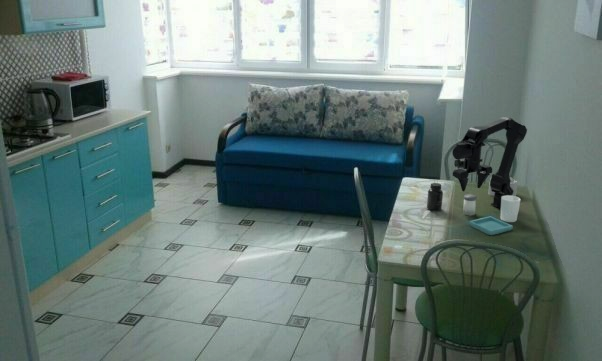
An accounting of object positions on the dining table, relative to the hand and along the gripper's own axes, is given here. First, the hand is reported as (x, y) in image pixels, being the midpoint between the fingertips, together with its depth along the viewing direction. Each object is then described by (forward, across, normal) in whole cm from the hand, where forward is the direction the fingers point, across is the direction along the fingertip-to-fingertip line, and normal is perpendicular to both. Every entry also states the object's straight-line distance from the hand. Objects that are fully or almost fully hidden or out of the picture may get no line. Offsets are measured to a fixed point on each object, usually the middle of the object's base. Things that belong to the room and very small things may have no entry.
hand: (471, 189), depth 249 cm
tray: (+11, +4, +17) cm, 21 cm away
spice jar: (+11, 0, 0) cm, 11 cm away
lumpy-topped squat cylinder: (+12, -34, -12) cm, 38 cm away
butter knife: (+12, +24, -4) cm, 27 cm away
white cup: (+12, -10, +14) cm, 21 cm away
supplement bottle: (+12, +10, -12) cm, 19 cm away
